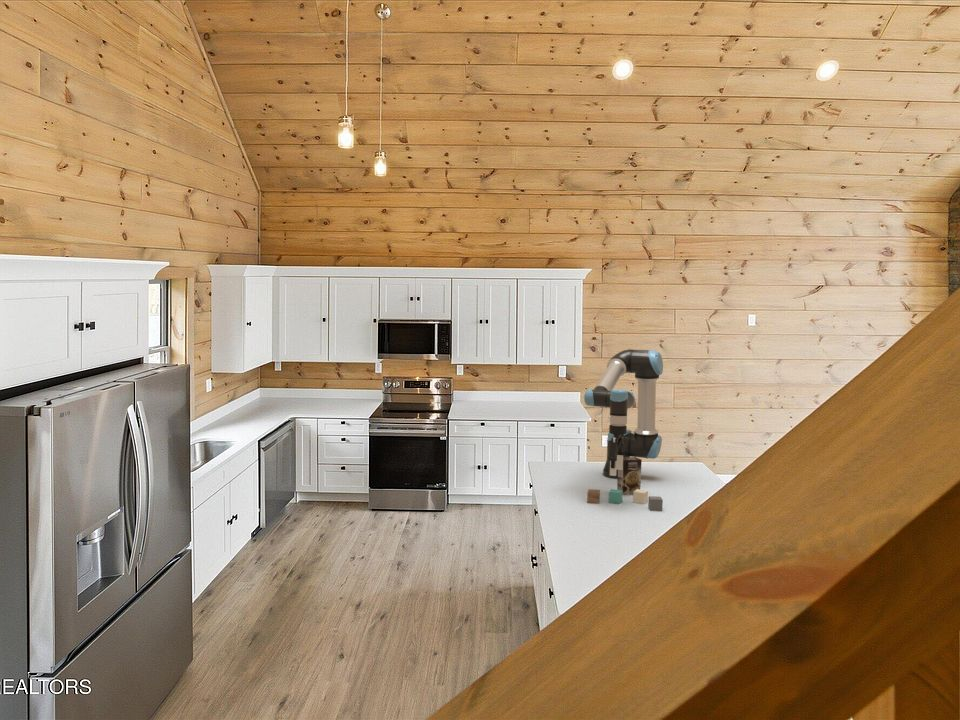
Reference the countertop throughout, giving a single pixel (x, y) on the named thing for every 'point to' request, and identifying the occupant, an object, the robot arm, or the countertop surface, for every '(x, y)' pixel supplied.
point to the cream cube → (640, 496)
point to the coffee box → (629, 475)
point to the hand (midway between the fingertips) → (616, 472)
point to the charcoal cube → (655, 503)
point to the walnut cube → (593, 496)
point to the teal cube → (615, 496)
